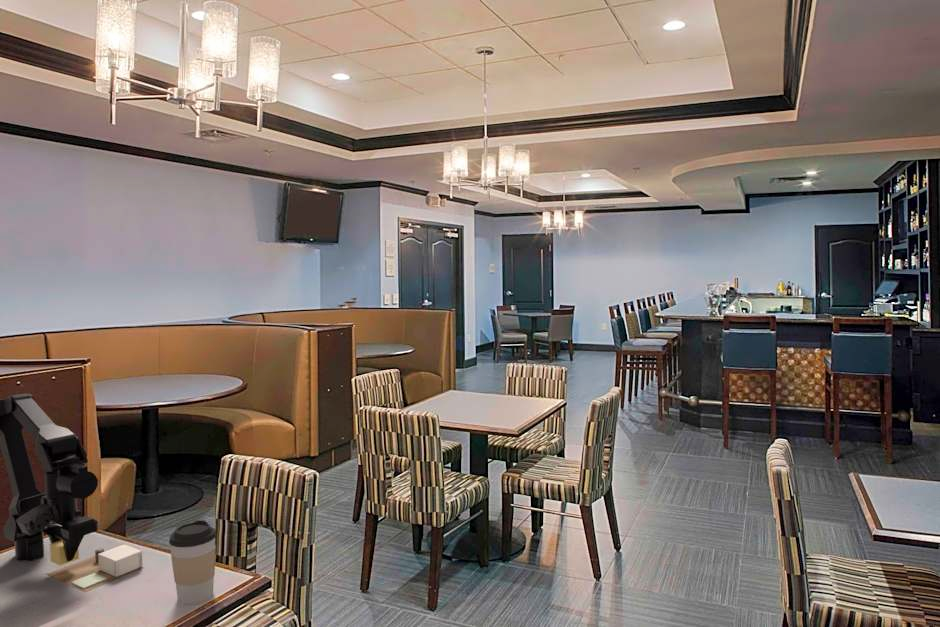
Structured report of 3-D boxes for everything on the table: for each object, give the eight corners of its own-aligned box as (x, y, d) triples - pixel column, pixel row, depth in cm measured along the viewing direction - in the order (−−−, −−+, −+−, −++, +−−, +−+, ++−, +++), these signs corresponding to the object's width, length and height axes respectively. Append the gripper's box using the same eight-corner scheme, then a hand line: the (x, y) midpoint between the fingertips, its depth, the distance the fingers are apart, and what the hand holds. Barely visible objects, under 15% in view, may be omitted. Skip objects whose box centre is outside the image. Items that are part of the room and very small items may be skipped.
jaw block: (50, 561, 148) (49, 543, 148) (69, 554, 152) (68, 537, 151) (60, 565, 146) (59, 547, 146) (78, 558, 150) (77, 541, 149)
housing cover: (98, 569, 149) (98, 553, 149) (124, 559, 154) (124, 544, 154) (116, 576, 145) (115, 560, 145) (142, 566, 150) (141, 550, 150)
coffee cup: (202, 609, 133) (198, 536, 132) (162, 605, 135) (158, 533, 134) (227, 587, 142) (224, 519, 141) (189, 584, 144) (186, 516, 143)
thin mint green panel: (71, 583, 143) (71, 582, 143) (94, 574, 147) (94, 572, 147) (83, 589, 140) (83, 587, 140) (107, 579, 145) (107, 578, 145)
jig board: (46, 578, 148) (45, 563, 148) (104, 556, 159) (104, 542, 159) (85, 596, 139) (84, 580, 139) (144, 572, 150) (143, 557, 150)
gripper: (0, 493, 146) (4, 562, 147) (43, 509, 136) (47, 583, 137) (53, 479, 155) (57, 544, 157) (97, 493, 145) (101, 562, 147)
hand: (64, 558), depth 149 cm, fingers closed on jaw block, 4 cm apart
